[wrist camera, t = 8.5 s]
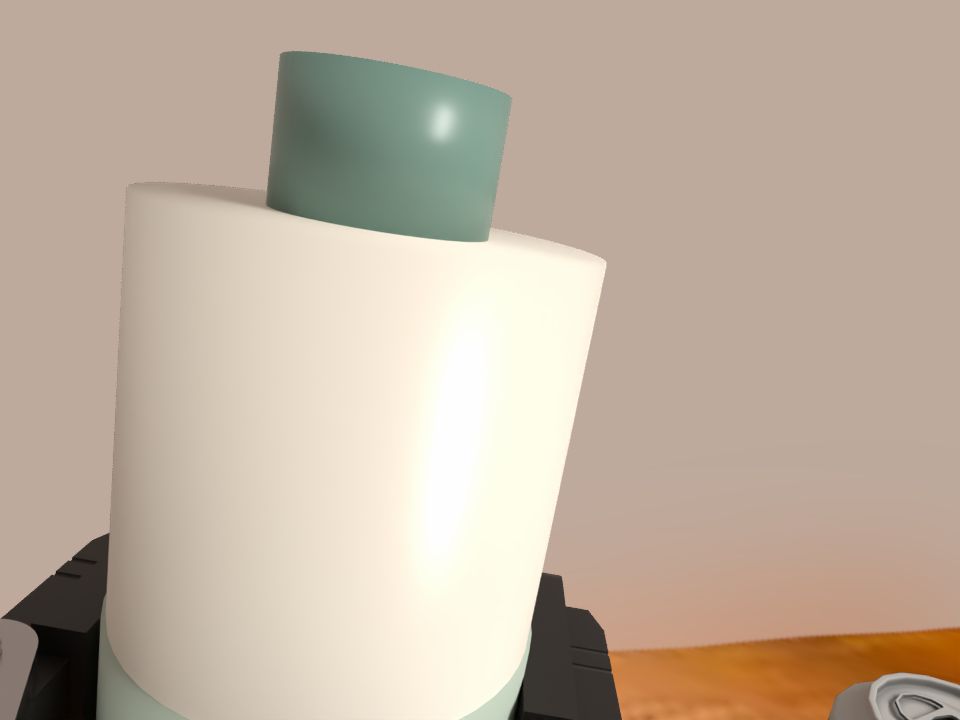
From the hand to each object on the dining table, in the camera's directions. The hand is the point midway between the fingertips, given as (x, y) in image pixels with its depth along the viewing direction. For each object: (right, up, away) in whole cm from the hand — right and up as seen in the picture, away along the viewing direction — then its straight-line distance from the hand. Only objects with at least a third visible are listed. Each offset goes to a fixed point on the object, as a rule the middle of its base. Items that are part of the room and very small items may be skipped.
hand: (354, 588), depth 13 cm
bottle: (-2, -10, 0) cm, 10 cm away
